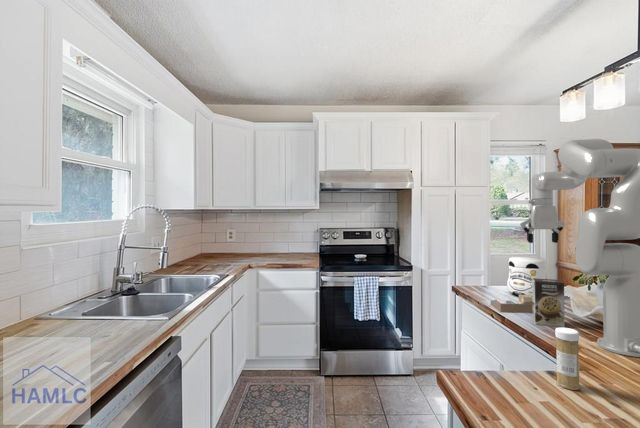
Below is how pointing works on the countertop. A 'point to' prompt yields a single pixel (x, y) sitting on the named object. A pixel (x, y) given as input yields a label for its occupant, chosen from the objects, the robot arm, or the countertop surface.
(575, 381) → the sprinkles bottle
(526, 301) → the maple cube
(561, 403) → the countertop surface
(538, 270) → the milk container
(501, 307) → the trap board
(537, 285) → the cookie box
